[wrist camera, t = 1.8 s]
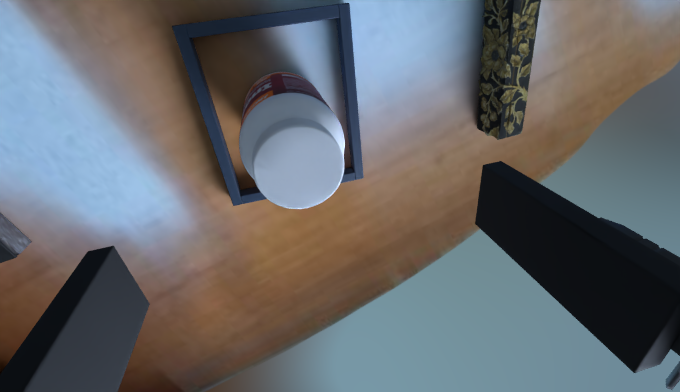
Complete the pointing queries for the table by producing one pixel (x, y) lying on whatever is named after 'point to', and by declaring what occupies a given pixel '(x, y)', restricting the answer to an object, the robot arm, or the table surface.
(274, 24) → the dark grey open frame
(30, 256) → the table surface
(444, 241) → the table surface
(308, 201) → the pill bottle
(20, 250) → the picture frame
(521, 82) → the decorative block
